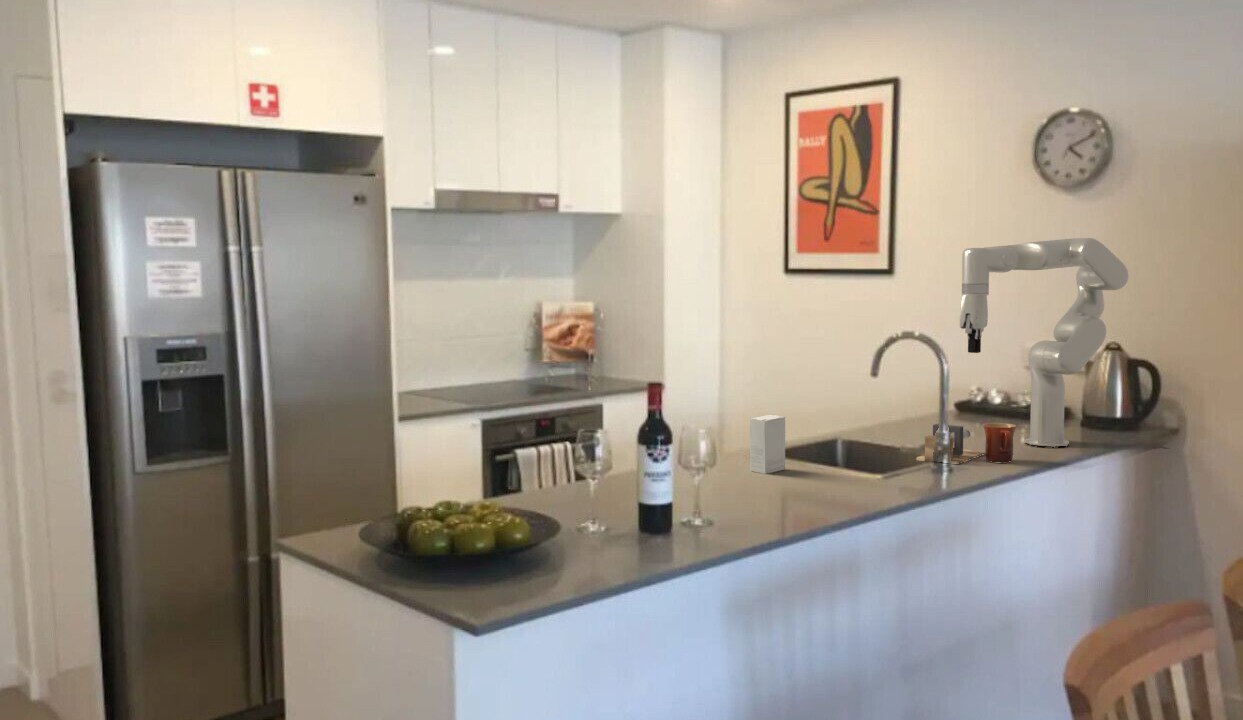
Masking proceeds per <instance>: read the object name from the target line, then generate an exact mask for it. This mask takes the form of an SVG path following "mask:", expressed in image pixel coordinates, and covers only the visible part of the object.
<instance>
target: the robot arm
mask: <svg viewBox="0 0 1243 720" xmlns="http://www.w3.org/2000/svg"><path fill="white" fill-rule="evenodd" d="M961 258H962V259H961V261H962V263H961V265H962V267H961V269H962V270H961V301H960V309H959V328H960V329H962V330H963V329H965V330H964V331H965V332H964V333H965V334H967V352H968V353H972V354H979V353H981V350H982V349H981V348H982V347H981V345H982V340H981V339H982V333H983V332H984V331H985V328H986V327H988V323H989V322H988V321H989V318H988V317H989V315H988V313H989V312H988V310H989V307H988V305H989V304H988V296H989V295H990V294H989V293H990V273H1009V272H1012V271H1045V270H1052V269H1062V268H1063V269H1064V268H1073V267H1078V269H1077V271H1076V274H1075V275H1076V276H1075V281H1076V287H1077V296H1076V299H1075V301H1074V302H1073V304H1072V305H1071V306H1070V307H1069V309H1068V310H1067V311H1066V312H1065V314H1063V316H1062V317H1061V318H1060V319H1059V320H1058V322H1057V323H1056V325H1055V326H1054V328H1053V331H1052V332H1053V334H1052V335H1053V337H1054V340H1041V341H1038V342H1036V343H1034V344H1033V345H1032V346H1031V347H1030V349H1029V351H1028V356H1027V357H1028V360H1027V361H1028V366H1029V371H1030V421H1029V422H1030V426H1029V428H1030V429H1029V431H1030V432H1029V435H1030V436H1029V437H1028V438H1025V439H1024V443H1025V442H1027V443H1030V444H1034V445H1047V446H1048V445H1050V446H1052V445H1053V446H1056V445H1065V444H1069V445H1070V441H1069V440H1066V439H1064V436H1065V402H1066V399H1065V398H1066V397H1065V394H1066V383H1065V380H1064V377H1063V375H1066V376H1071V375H1075V374H1077V373H1079V372H1080V371H1081V370H1082V369H1083V368H1084V367H1085V366H1086V365H1087V363H1088V362H1089V361H1090V360H1091V359H1092V358H1093V356H1094V355H1095V354H1096V353H1097V352H1098V350H1099V349H1100V348H1101V347H1102V345H1103V344H1104V342H1105V340H1106V335H1107V327H1106V324H1105V322H1104V321H1103V320H1102V319H1101V318H1100V317H1101V316H1102V315H1103V312H1104V311H1105V299H1104V293H1103V292H1104V291H1117V290H1120V289H1122V288H1124V287H1125V286H1126V284H1127V283H1128V281H1129V270H1128V269H1127V266H1126V265H1125V263H1124V262H1123V261H1121V260H1120V259H1119V258H1118V257H1117V256H1116V255H1115V254H1114V253H1113V252H1112V251H1111V250H1110V249H1109V248H1108V247H1106V245H1104V244H1103V243H1102V242H1100V241H1099V240H1097V239H1095V238H1093V237H1080V238H1079V237H1078V238H1062V239H1053V240H1050V239H1049V240H1040V241H1031V242H1024V243H1018V244H1009V245H998V246H996V245H995V246H985V247H968V248H967V247H966V248H965V249H963V251H962V257H961ZM1055 340H1056V341H1055Z"/></svg>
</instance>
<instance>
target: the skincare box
mask: <svg viewBox="0 0 1243 720" xmlns="http://www.w3.org/2000/svg"><path fill="white" fill-rule="evenodd" d="M749 426H750V429H749V430H750V431H749V432H750V433H749V438H750V439H749V448H750V449H749V451H750V453H749V456H750V457H749V459H750V463H749V464H750V465H749V466H750V469H749V470H750V471H751V472H754V473H758V474H763V475H766V474H771V473H776V472H781V471H784V470H786V417H785V416H781V415H775V414H766V415H761V416H757V417H750V419H749Z"/></svg>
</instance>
